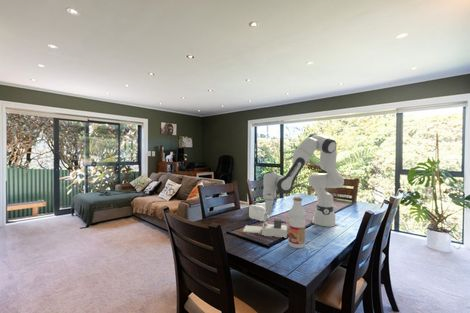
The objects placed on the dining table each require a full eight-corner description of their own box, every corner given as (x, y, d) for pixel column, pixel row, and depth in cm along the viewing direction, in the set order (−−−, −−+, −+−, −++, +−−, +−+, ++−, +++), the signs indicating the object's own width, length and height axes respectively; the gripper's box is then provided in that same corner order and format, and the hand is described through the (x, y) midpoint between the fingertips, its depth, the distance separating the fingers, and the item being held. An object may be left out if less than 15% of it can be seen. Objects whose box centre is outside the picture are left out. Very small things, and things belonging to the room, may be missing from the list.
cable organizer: (270, 219, 181) (271, 205, 180) (263, 222, 173) (263, 207, 172) (256, 215, 191) (256, 202, 190) (248, 218, 183) (248, 204, 183)
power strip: (262, 230, 155) (263, 222, 155) (286, 232, 151) (286, 224, 151) (261, 235, 146) (261, 227, 146) (286, 237, 143) (287, 229, 142)
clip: (263, 225, 149) (263, 215, 149) (265, 220, 160) (265, 210, 160) (267, 226, 148) (267, 215, 148) (268, 221, 159) (269, 211, 159)
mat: (245, 226, 163) (245, 225, 163) (262, 227, 160) (262, 226, 160) (242, 232, 151) (242, 231, 151) (260, 233, 149) (260, 232, 149)
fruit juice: (306, 249, 127) (307, 200, 126) (289, 248, 127) (291, 199, 127) (302, 242, 136) (303, 196, 136) (287, 241, 137) (288, 196, 136)
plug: (274, 229, 151) (274, 218, 151) (285, 230, 149) (285, 219, 149) (273, 231, 146) (274, 220, 146) (285, 233, 145) (286, 221, 145)
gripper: (265, 191, 165) (265, 210, 166) (263, 197, 145) (263, 218, 146) (274, 192, 164) (274, 210, 164) (273, 197, 144) (273, 218, 144)
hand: (269, 214), depth 155 cm, fingers closed, pressing on clip
